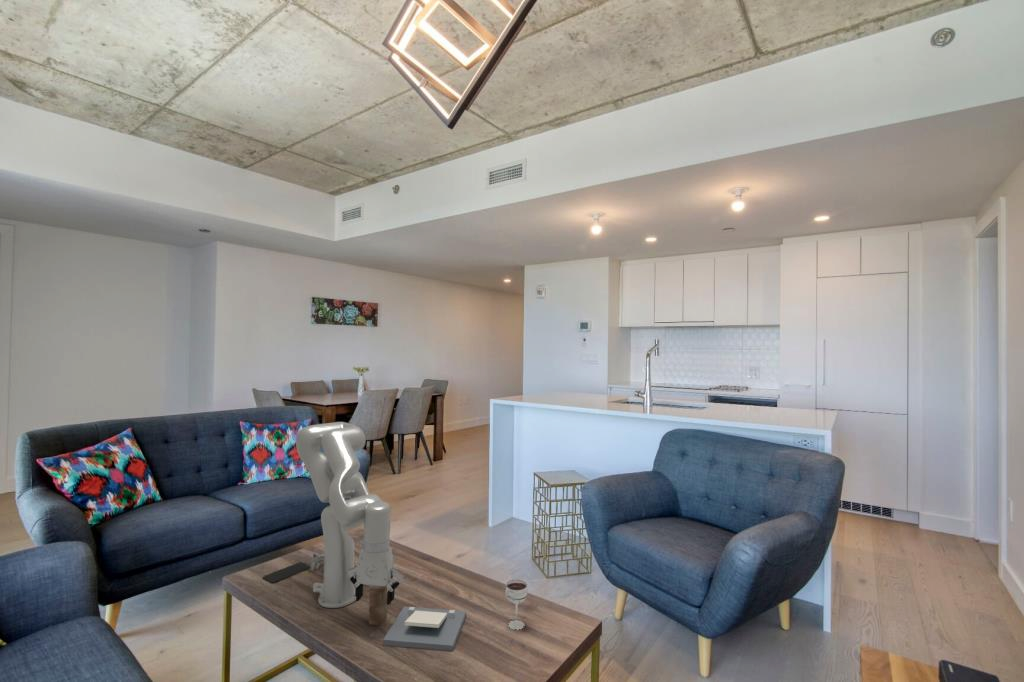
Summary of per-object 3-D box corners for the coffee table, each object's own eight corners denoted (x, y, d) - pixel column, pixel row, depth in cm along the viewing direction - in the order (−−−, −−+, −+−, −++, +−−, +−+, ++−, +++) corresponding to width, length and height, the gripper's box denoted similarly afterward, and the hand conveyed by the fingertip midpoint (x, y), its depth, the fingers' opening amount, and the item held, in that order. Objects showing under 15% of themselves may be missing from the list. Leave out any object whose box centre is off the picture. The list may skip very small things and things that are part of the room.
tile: (415, 610, 145) (415, 614, 145) (404, 621, 136) (404, 625, 135) (447, 612, 144) (447, 616, 144) (438, 624, 134) (438, 628, 134)
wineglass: (501, 620, 145) (502, 581, 145) (522, 616, 147) (522, 577, 147) (509, 633, 138) (510, 592, 138) (531, 628, 141) (531, 588, 141)
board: (383, 645, 133) (383, 633, 133) (404, 611, 149) (404, 601, 149) (452, 651, 130) (452, 639, 130) (466, 616, 147) (466, 606, 147)
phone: (311, 566, 178) (273, 582, 166) (311, 568, 178) (273, 585, 166) (300, 561, 182) (261, 576, 170) (300, 563, 182) (261, 579, 170)
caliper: (312, 572, 175) (312, 555, 175) (310, 572, 175) (310, 555, 175) (355, 552, 192) (355, 536, 192) (353, 551, 193) (353, 535, 193)
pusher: (368, 624, 142) (369, 590, 143) (374, 616, 146) (374, 584, 146) (381, 625, 142) (382, 591, 142) (386, 617, 146) (387, 585, 146)
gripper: (343, 547, 140) (341, 604, 140) (399, 553, 138) (397, 611, 138) (355, 536, 147) (353, 590, 148) (408, 541, 145) (406, 596, 146)
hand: (374, 600), depth 143 cm, fingers open, 9 cm apart
